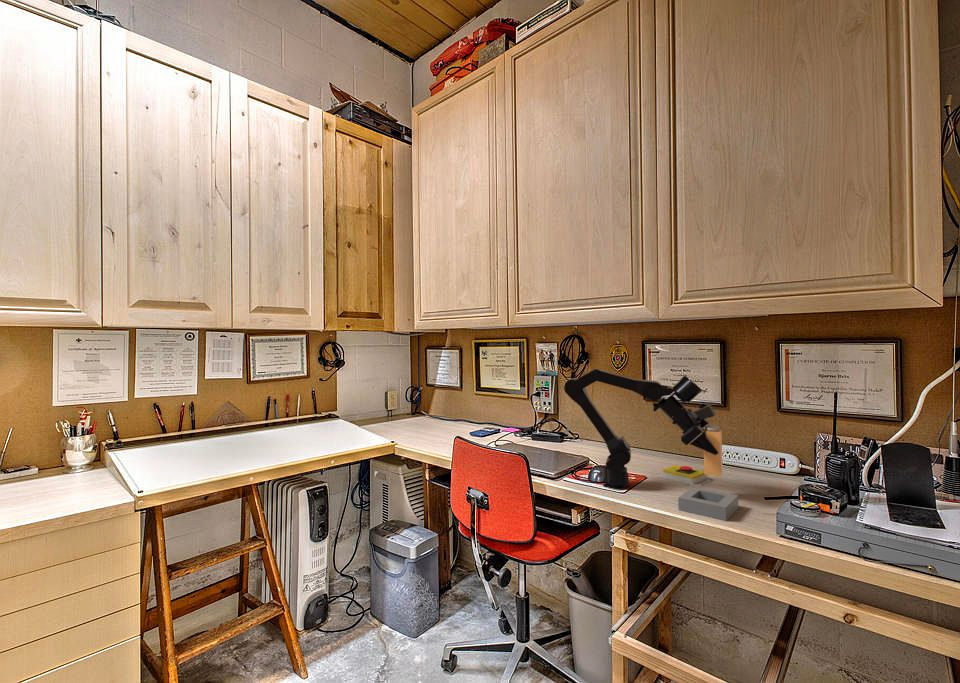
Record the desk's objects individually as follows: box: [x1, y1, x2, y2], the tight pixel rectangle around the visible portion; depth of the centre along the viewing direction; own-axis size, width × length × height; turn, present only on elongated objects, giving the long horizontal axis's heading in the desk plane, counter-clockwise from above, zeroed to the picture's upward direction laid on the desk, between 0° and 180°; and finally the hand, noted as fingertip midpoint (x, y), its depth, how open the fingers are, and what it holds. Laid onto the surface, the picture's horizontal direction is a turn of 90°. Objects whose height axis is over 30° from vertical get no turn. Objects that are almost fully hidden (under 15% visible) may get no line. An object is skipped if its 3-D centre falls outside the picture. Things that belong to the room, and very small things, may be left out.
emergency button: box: [656, 464, 712, 487], centre depth 154 cm, size 9×4×15 cm
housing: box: [677, 486, 739, 522], centre depth 126 cm, size 12×12×4 cm
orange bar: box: [703, 425, 723, 477], centre depth 136 cm, size 4×4×14 cm
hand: (718, 452), depth 135 cm, fingers closed on orange bar, 4 cm apart
